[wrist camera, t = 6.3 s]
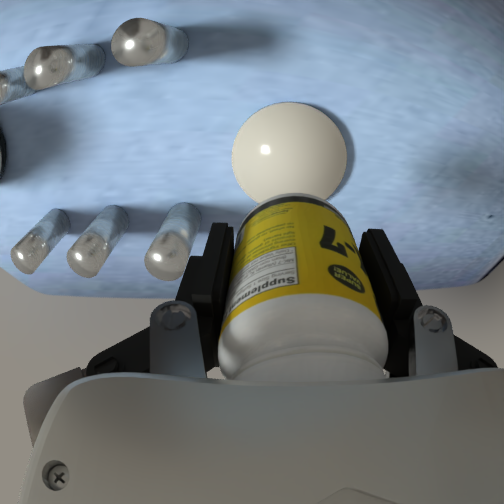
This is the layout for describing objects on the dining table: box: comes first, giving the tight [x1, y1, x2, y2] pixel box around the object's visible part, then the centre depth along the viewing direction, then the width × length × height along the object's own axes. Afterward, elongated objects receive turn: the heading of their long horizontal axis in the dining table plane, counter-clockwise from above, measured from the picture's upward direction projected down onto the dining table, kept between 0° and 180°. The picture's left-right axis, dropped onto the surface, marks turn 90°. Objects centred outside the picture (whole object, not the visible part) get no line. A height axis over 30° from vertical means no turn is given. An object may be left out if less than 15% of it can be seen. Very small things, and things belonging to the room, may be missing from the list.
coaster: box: [232, 102, 347, 204], centre depth 24 cm, size 9×9×1 cm
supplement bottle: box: [218, 193, 388, 382], centre depth 10 cm, size 5×5×8 cm
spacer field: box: [0, 18, 201, 281], centre depth 21 cm, size 17×18×7 cm
